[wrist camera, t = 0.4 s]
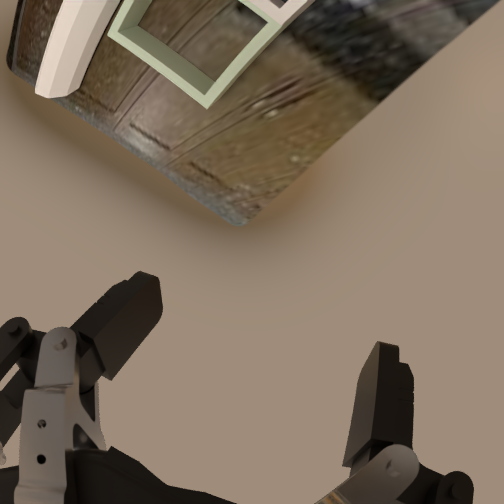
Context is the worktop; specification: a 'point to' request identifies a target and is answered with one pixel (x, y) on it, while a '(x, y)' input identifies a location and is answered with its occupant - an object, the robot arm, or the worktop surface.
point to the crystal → (72, 45)
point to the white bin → (282, 8)
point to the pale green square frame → (179, 67)
